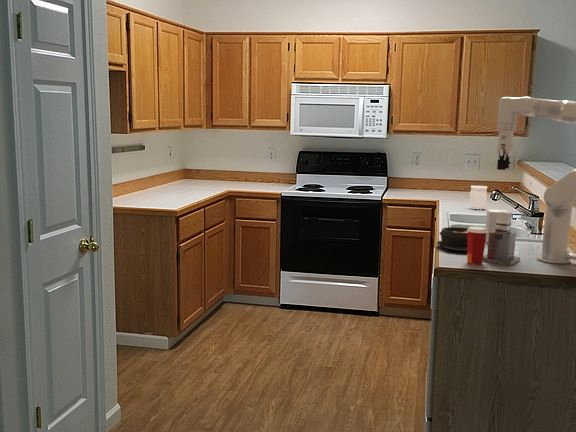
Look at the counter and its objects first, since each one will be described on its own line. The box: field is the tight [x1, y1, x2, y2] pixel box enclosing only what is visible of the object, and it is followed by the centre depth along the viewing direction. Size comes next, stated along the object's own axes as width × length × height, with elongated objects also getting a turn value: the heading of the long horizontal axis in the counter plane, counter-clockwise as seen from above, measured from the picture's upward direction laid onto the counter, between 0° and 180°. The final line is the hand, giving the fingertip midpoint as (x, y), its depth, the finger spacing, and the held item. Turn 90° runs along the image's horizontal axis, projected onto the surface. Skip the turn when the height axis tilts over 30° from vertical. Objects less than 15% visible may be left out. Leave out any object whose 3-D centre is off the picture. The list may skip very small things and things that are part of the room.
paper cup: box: [466, 226, 487, 266], centre depth 245 cm, size 8×8×14 cm
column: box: [495, 211, 513, 235], centre depth 250 cm, size 4×4×18 cm
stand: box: [482, 231, 521, 267], centre depth 251 cm, size 12×12×12 cm
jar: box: [469, 184, 488, 211], centre depth 403 cm, size 11×10×15 cm
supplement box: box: [485, 209, 508, 245], centre depth 290 cm, size 9×9×15 cm
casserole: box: [436, 226, 469, 252], centre depth 273 cm, size 25×19×8 cm
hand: (502, 169), depth 262 cm, fingers open, 9 cm apart
